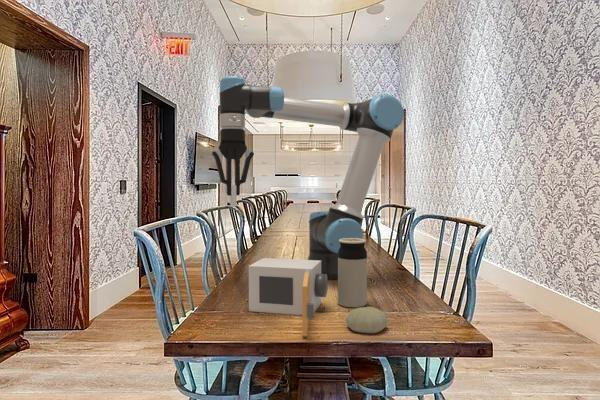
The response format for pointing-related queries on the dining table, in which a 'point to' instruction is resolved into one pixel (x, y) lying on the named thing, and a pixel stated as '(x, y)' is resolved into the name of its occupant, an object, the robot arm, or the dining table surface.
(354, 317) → the sea urchin shell
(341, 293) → the travel mug
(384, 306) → the dining table surface
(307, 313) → the hatch
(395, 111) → the robot arm
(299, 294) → the case
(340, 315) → the dining table surface
